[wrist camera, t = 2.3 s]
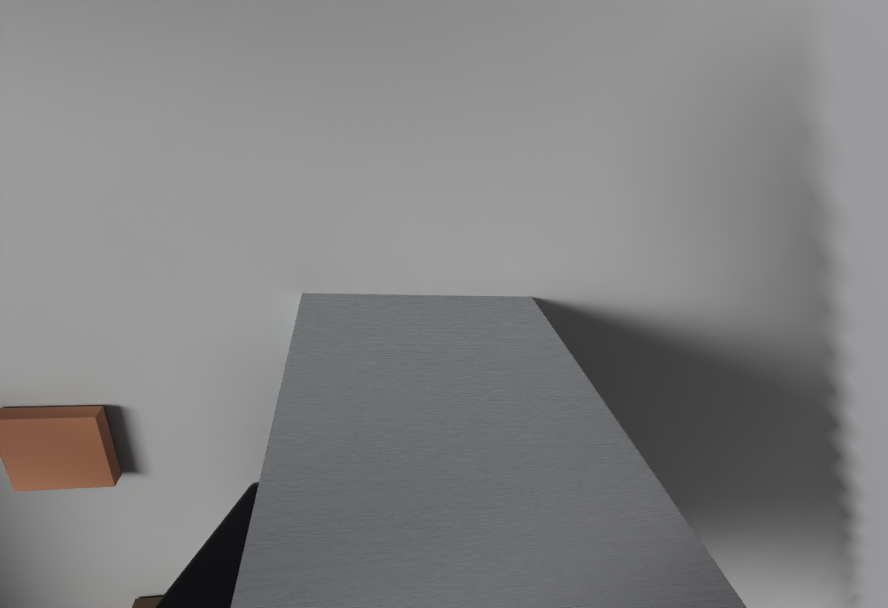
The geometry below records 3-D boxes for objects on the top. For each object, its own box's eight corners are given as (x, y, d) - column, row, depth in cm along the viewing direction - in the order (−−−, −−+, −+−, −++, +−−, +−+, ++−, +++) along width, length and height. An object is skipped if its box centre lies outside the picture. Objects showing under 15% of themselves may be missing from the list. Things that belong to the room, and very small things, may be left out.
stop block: (488, 524, 12) (632, 1060, 6) (312, 537, 11) (252, 1166, 5) (531, 296, 9) (909, 843, 3) (302, 293, 8) (137, 1013, 2)
